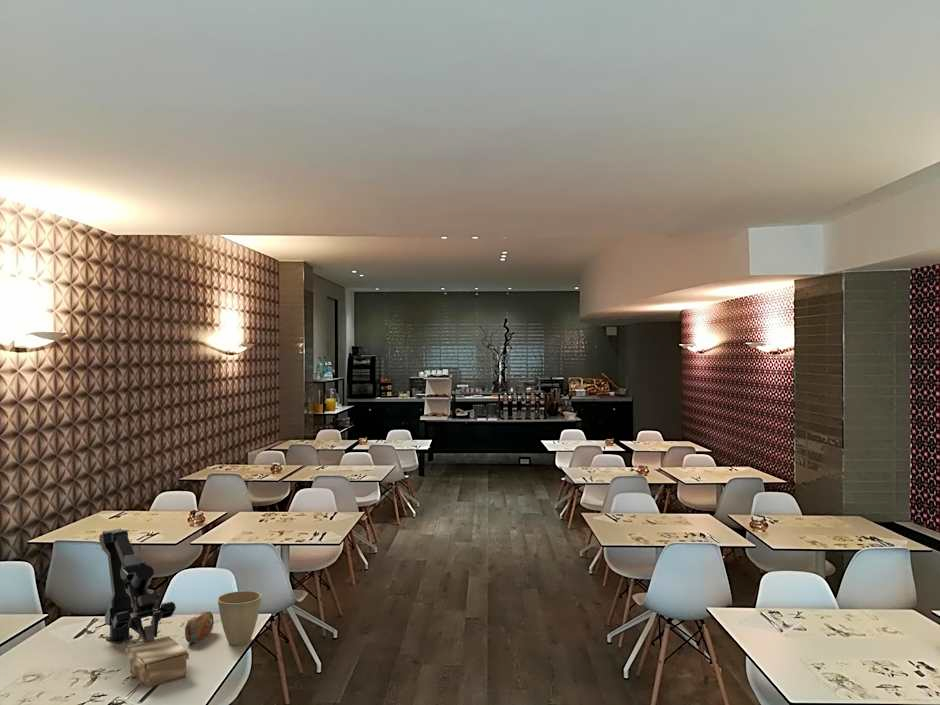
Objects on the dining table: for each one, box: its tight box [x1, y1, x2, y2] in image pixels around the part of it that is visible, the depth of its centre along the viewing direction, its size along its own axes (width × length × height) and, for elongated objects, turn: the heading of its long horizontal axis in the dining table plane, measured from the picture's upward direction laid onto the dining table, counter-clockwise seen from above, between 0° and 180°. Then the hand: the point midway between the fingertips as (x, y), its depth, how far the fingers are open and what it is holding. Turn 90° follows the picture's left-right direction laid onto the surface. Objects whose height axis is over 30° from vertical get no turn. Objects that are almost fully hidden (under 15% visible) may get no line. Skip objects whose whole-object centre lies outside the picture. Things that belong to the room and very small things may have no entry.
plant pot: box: [217, 590, 262, 646], centre depth 263 cm, size 15×15×16 cm
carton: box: [129, 654, 187, 689], centre depth 236 cm, size 16×12×7 cm
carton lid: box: [125, 625, 190, 671], centre depth 236 cm, size 17×14×8 cm
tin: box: [184, 611, 215, 644], centre depth 266 cm, size 15×3×8 cm, turn 168°
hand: (150, 638), depth 241 cm, fingers closed on carton lid, 3 cm apart
